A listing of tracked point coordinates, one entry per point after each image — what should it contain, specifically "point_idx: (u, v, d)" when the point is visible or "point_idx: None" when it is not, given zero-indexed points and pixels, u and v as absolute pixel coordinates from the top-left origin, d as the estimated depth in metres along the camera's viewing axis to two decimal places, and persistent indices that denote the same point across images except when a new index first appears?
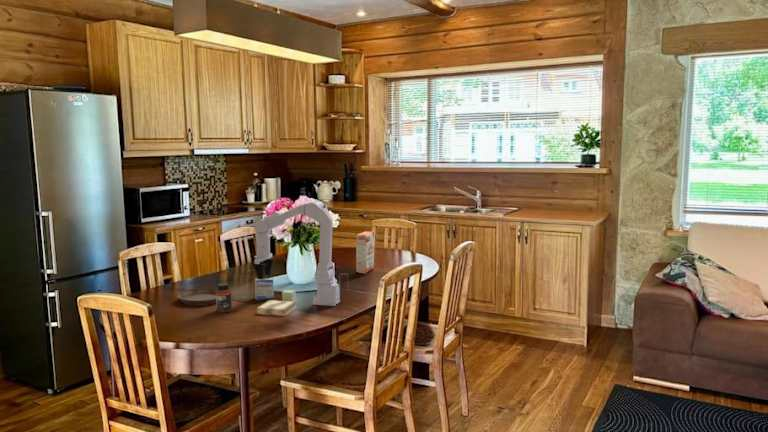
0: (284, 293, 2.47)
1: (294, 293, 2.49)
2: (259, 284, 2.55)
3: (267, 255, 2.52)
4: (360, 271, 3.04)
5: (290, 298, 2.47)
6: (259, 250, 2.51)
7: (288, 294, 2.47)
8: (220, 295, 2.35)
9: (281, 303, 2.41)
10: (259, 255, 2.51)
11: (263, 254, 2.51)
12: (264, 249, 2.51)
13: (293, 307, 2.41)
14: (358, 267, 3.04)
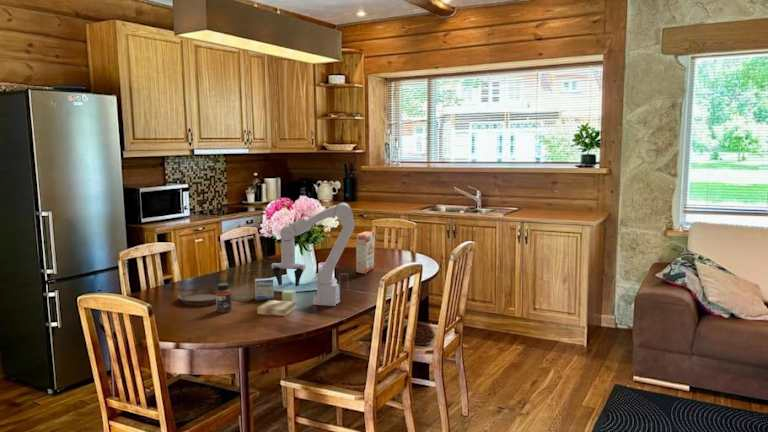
0: (284, 293, 2.47)
1: (294, 293, 2.49)
2: (259, 284, 2.55)
3: (283, 263, 2.45)
4: (360, 271, 3.04)
5: (290, 298, 2.47)
6: None
7: (288, 294, 2.47)
8: (220, 295, 2.35)
9: (281, 303, 2.41)
10: None
11: (281, 261, 2.47)
12: (281, 256, 2.46)
13: (293, 307, 2.41)
14: (358, 267, 3.04)
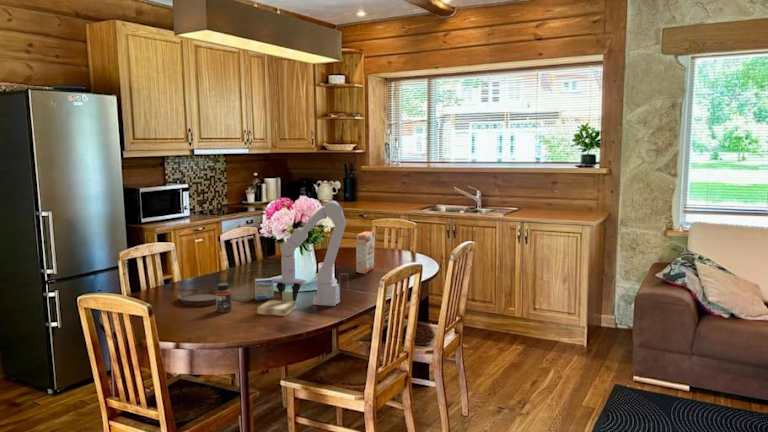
0: (284, 293, 2.47)
1: None
2: (259, 284, 2.55)
3: (283, 278, 2.46)
4: (360, 271, 3.04)
5: (290, 298, 2.47)
6: None
7: (288, 294, 2.47)
8: (220, 295, 2.35)
9: (281, 303, 2.41)
10: None
11: None
12: None
13: (293, 307, 2.41)
14: (358, 267, 3.04)
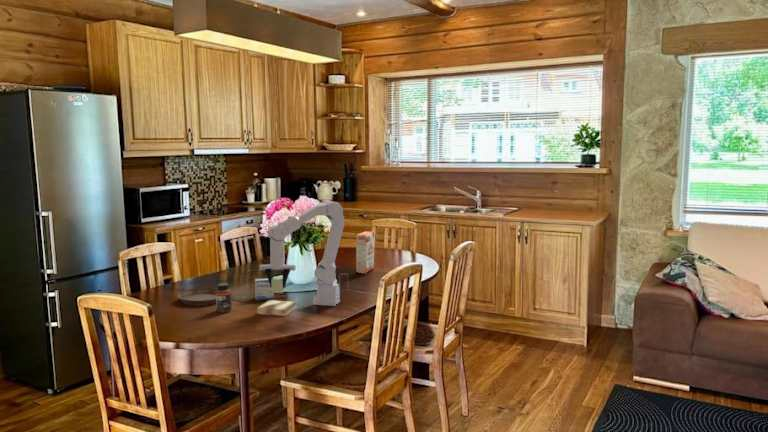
0: (274, 280, 2.37)
1: None
2: (259, 284, 2.55)
3: (272, 264, 2.36)
4: (360, 271, 3.04)
5: (280, 285, 2.37)
6: None
7: (278, 281, 2.37)
8: (220, 295, 2.35)
9: (281, 303, 2.41)
10: None
11: None
12: (270, 257, 2.36)
13: (293, 307, 2.41)
14: (358, 267, 3.04)
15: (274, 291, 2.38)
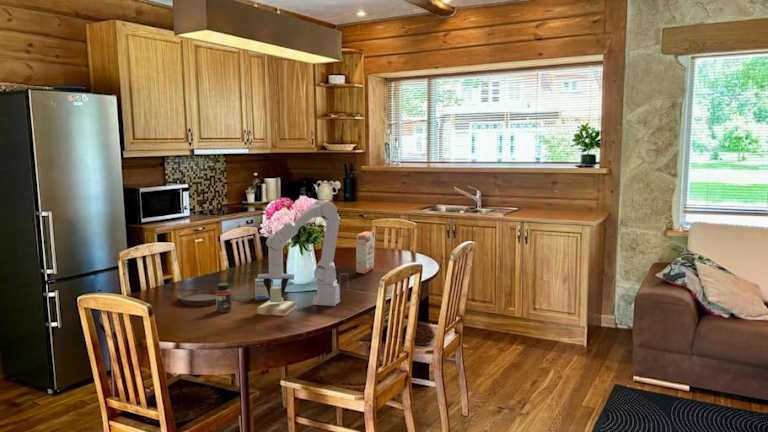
0: (272, 290, 2.36)
1: None
2: (259, 284, 2.55)
3: (271, 274, 2.35)
4: (360, 271, 3.04)
5: (279, 295, 2.36)
6: None
7: (277, 291, 2.36)
8: (220, 295, 2.35)
9: (281, 303, 2.41)
10: None
11: (269, 272, 2.36)
12: (269, 267, 2.35)
13: (293, 307, 2.41)
14: (358, 267, 3.04)
15: (273, 301, 2.36)
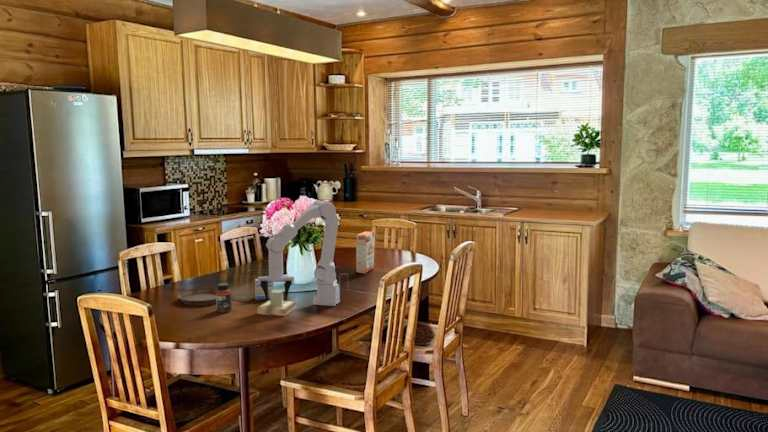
0: (272, 293, 2.36)
1: (282, 293, 2.39)
2: (259, 284, 2.55)
3: (271, 276, 2.35)
4: (360, 271, 3.04)
5: (279, 298, 2.36)
6: None
7: (277, 294, 2.36)
8: (220, 295, 2.35)
9: None
10: None
11: (269, 274, 2.36)
12: (269, 269, 2.35)
13: (293, 307, 2.41)
14: (358, 267, 3.04)
15: (273, 304, 2.37)
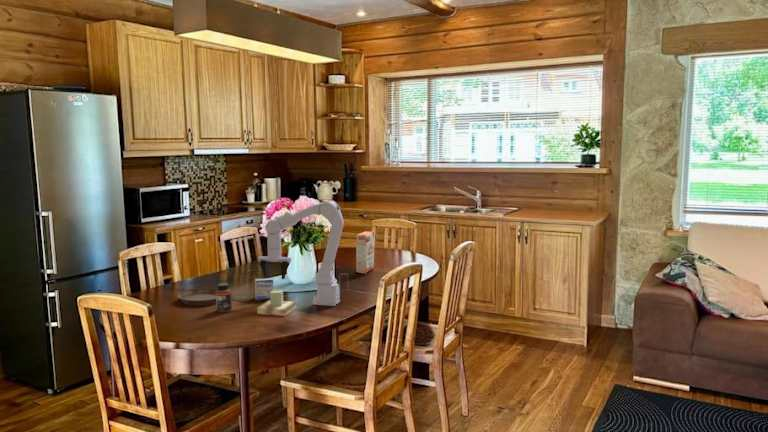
0: (272, 293, 2.36)
1: (282, 293, 2.39)
2: (259, 284, 2.55)
3: (269, 256, 2.47)
4: (360, 271, 3.04)
5: (279, 298, 2.36)
6: None
7: (277, 294, 2.36)
8: (220, 295, 2.35)
9: None
10: None
11: None
12: None
13: (293, 307, 2.41)
14: (358, 267, 3.04)
15: (273, 304, 2.37)
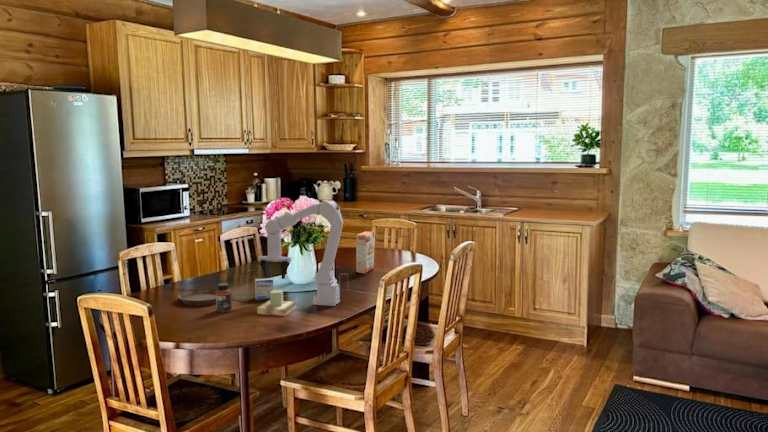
0: (272, 293, 2.36)
1: (282, 293, 2.39)
2: (259, 284, 2.55)
3: (269, 256, 2.48)
4: (360, 271, 3.04)
5: (279, 298, 2.36)
6: None
7: (277, 294, 2.36)
8: (220, 295, 2.35)
9: None
10: None
11: None
12: None
13: (293, 307, 2.41)
14: (358, 267, 3.04)
15: (273, 304, 2.37)
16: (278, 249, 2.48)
